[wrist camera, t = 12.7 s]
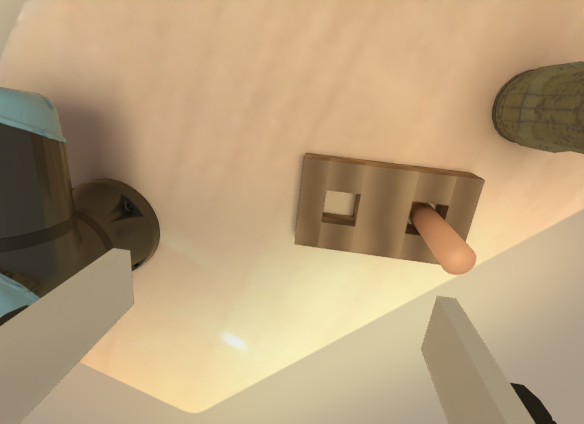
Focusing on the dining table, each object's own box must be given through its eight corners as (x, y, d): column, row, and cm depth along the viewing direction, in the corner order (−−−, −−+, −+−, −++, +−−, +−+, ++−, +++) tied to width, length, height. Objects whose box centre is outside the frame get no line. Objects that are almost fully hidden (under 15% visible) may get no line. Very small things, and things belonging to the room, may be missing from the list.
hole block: (297, 232, 48) (294, 244, 45) (306, 152, 44) (304, 158, 40) (447, 253, 47) (457, 267, 43) (471, 172, 43) (484, 179, 39)
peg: (403, 218, 46) (437, 272, 32) (409, 197, 45) (445, 242, 31) (426, 221, 46) (470, 277, 32) (432, 200, 45) (480, 247, 30)
